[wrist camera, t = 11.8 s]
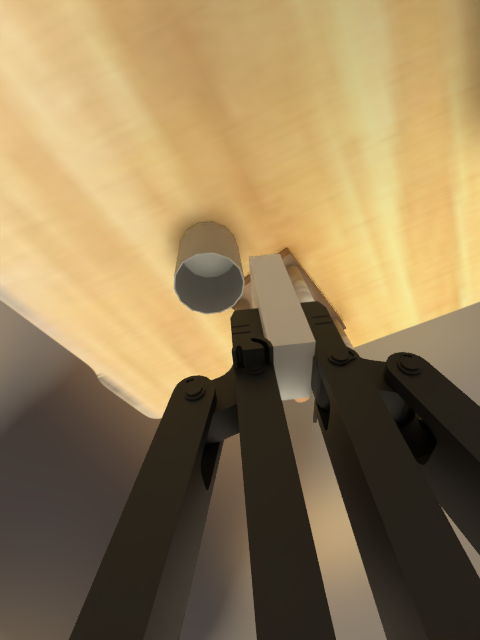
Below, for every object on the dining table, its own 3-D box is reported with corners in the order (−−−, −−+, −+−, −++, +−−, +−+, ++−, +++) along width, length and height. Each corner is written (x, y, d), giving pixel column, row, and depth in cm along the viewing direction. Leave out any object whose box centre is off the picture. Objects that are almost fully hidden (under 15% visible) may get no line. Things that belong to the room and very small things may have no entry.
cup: (170, 232, 44) (161, 265, 36) (226, 213, 43) (231, 242, 35) (193, 282, 49) (190, 321, 41) (244, 266, 48) (252, 303, 40)
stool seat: (286, 247, 46) (305, 285, 38) (342, 321, 56) (367, 365, 47) (222, 294, 50) (225, 338, 41) (284, 356, 59) (297, 403, 51)
